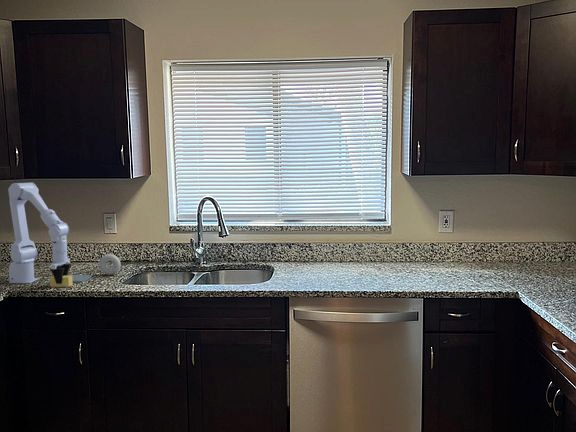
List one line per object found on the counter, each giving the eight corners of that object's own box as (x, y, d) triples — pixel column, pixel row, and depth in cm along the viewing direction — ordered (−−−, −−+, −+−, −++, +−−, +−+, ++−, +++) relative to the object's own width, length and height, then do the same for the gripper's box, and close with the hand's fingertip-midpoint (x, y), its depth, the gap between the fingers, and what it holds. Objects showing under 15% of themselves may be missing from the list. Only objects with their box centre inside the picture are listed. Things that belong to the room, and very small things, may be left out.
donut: (98, 275, 240) (97, 254, 239) (100, 274, 244) (100, 253, 243) (119, 275, 241) (119, 254, 240) (122, 274, 244) (121, 253, 243)
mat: (50, 282, 226) (50, 280, 226) (62, 276, 238) (62, 274, 238) (82, 282, 226) (82, 281, 226) (92, 276, 238) (92, 275, 238)
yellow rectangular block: (50, 286, 219) (49, 277, 219) (54, 284, 223) (53, 275, 223) (68, 286, 219) (68, 277, 219) (72, 284, 223) (72, 275, 223)
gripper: (61, 254, 213) (63, 286, 214) (76, 248, 227) (77, 278, 228) (44, 254, 212) (46, 286, 214) (60, 248, 227) (61, 278, 228)
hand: (61, 282), depth 221 cm, fingers closed on yellow rectangular block, 4 cm apart
